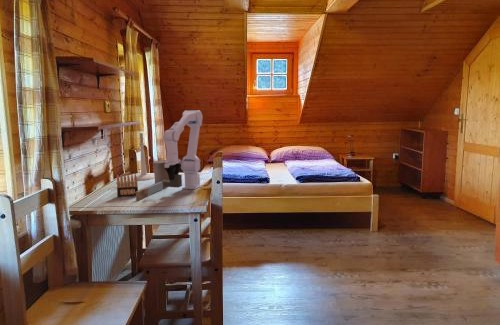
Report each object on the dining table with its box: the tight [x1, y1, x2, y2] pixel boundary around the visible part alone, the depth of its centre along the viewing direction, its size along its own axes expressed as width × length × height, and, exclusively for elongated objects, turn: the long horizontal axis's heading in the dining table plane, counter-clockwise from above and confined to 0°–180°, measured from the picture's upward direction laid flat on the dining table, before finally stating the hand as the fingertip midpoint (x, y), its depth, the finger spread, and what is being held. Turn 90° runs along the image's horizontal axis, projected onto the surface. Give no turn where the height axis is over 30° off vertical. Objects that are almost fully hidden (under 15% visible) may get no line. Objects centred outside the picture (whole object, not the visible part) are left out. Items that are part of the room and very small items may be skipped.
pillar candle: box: [152, 159, 170, 184], centre depth 229 cm, size 10×10×15 cm
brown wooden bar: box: [135, 180, 168, 202], centre depth 205 cm, size 30×2×5 cm, turn 164°
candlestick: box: [136, 132, 155, 182], centre depth 245 cm, size 13×13×30 cm
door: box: [146, 182, 164, 196], centre depth 208 cm, size 16×1×4 cm, turn 164°
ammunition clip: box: [116, 173, 139, 198], centre depth 200 cm, size 11×2×12 cm, turn 100°
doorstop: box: [164, 174, 183, 189], centre depth 200 cm, size 8×4×6 cm, turn 75°
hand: (173, 178), depth 199 cm, fingers open, 4 cm apart
